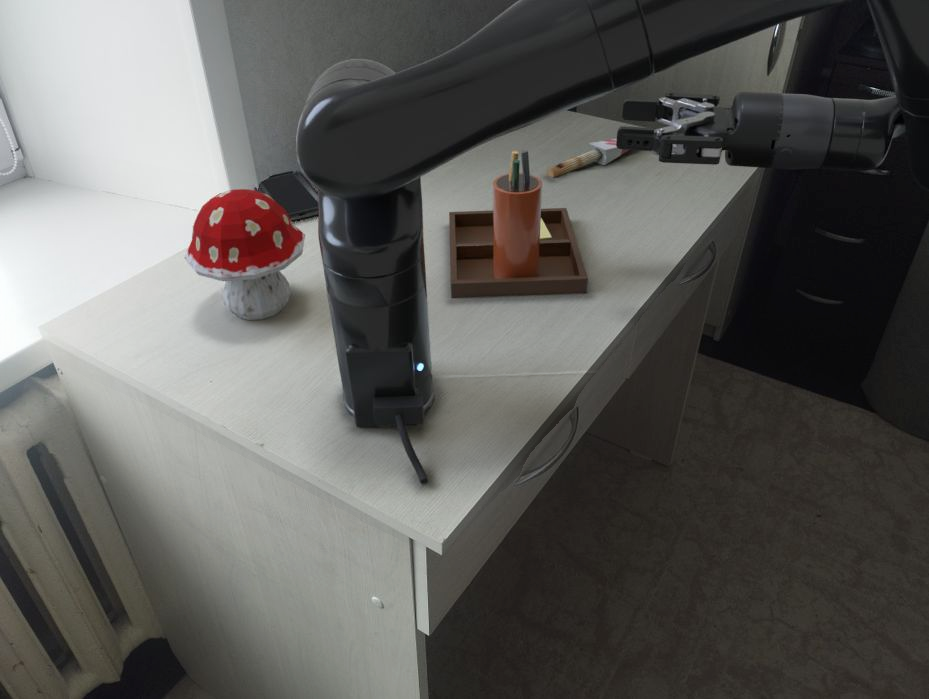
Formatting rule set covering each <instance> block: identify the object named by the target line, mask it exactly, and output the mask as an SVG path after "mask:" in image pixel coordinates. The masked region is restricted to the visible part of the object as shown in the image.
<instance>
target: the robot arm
mask: <svg viewBox="0 0 929 699" xmlns="http://www.w3.org/2000/svg"><path fill="white" fill-rule="evenodd" d="M854 1H855V0H517V1H516V2H514V3H513V4H512V5H511V6H510V7H508V8H507V9H506V10H505V9H504V11H503V12H501V13H500V14H499V15H497V16H496V17H495V18H494V19H493V20H491V21H490V22H489V23H487V24H486V25H485V26H484V27H482V28H481V29H480V30H478V31H477V32H476V33H474V34H473V35H472V36H470V37H469V38H467V39H466V40H464V41H463V42H461V43H460V44H459V45H457V46H455V47H454V48H452V49H449V50H448V51H446V52H443V53H442V54H440V55H438V56H435V57H433V58H431V59H429V60H427V61H424V62H421V63H419V64H416V65H414V66H411V67H409V68H406V69H403V70H401V71H398V72H395V71H394V70H392V69H391V68H389V67H388V66H386V65H385V64H383V63H380V62H378V61H375V60H371V59H367V58H351V59H346V60H342V61H339V62H337V63H334V64H333V65H332V66H329V67H328V68H327V69H325V71H323V72H322V73H321V74H320V75H319V76H318V78H316V80H315V81H314V83H313V84H312V86H311V88H310V90H309V92H308V95H307V98H306V101H305V104H304V106H303V109H302V111H301V114H300V117H299V120H298V124H297V128H296V135H295V136H296V138H295V151H296V158H297V162H298V166H299V169H300V171H301V173H302V174H303V175H304V177H305V178H306V179H307V180H308V181H309V183H310V184H311V185H312V186H313V187H314V189H316V191H317V192H318V215H317V217H318V218H317V219H318V221H317V222H318V223H317V225H318V226H317V233H318V234H317V235H318V236H317V237H318V243H319V249H320V256H321V262H322V268H323V273H324V280H325V285H326V286H325V288H326V293H327V301H328V308H329V312H330V318H331V325H332V332H333V338H334V344H335V350H336V356H337V362H338V368H339V375H340V381H341V387H342V399H343V406H344V408H345V410H346V412H347V413H348V414H349V415H350V417H352V418H353V419H354V423H355V427H356V428H378V427H380V428H381V427H384V428H385V427H386V428H388V427H397V429H398V433H399V436H400V439H401V443H402V445H403V449H404V450H405V452H406V455H407V457H408V459H409V461H410V463H411V465H412V467H413V469H414V470H415V473H416V475H417V477H418V480H419V483H420V484H421V485H426V484H427V483H428V482H429V479H428V477H427V474H426V472H425V469H424V466H423V465H422V463H421V461H420V459H419V458H418V455H417V454H416V452H415V449H414V448H413V445H412V444H413V443H412V442H411V439H410V437H409V433H408V430H407V426H417V425H423V424H424V422H425V421H424V416H425V413H427V411H429V409H430V407H432V404H433V402H434V400H435V384H434V380H433V379H434V378H433V364H432V351H431V335H430V321H429V307H428V306H429V305H428V304H429V303H428V292H427V291H428V288H427V273H426V270H427V269H426V256H425V242H424V214H423V213H424V212H423V211H424V209H423V193H422V191H423V190H422V178H421V177H423V176H425V175H426V174H428V173H431V172H432V171H433V170H436V169H437V168H439V167H441V166H443V165H445V164H446V163H447V164H448V163H449V162H451V161H452V160H454V159H456V158H458V157H460V156H461V155H463V154H466V153H467V152H469V151H471V150H473V149H475V148H478V147H479V146H481V145H483V144H486V143H488V142H491V141H492V140H496V139H497V138H500V137H502V136H505V135H507V134H510V133H513V132H515V131H518V130H521V129H523V128H526V127H529V126H531V125H534V124H536V123H539V122H541V121H544V120H546V119H549V118H551V117H555V115H559V114H561V113H564V112H566V111H568V110H571V109H573V108H576V107H578V106H580V105H583V104H585V103H589V102H591V101H594V100H596V99H599V98H602V97H605V96H608V95H610V94H612V93H615V92H617V91H619V90H622V89H625V88H627V87H630V86H631V85H635V84H636V83H639V82H641V81H644V80H646V79H648V78H650V77H654V76H655V75H658V74H660V73H661V72H664V71H667V70H669V69H671V68H672V67H675V66H678V65H679V64H681V63H683V62H686V61H688V60H690V59H692V58H693V59H694V58H696V57H698V56H700V55H703V54H706V53H708V52H711V51H713V50H716V49H718V48H721V47H723V46H726V45H729V44H731V43H734V42H736V41H739V40H741V39H744V38H747V37H750V36H752V35H755V34H757V33H760V32H762V31H764V30H768V29H770V28H773V27H775V26H778V25H781V24H783V23H787V22H791V21H792V20H795V19H799V18H802V17H804V16H809V15H811V14H815V13H817V12H821V11H824V10H827V9H831V8H834V7H838V6H841V5H845V4H848V3H851V2H854ZM866 3H867V7H868V9H869V11H870V14H871V18H872V20H873V23H874V26H875V29H876V32H877V35H878V39H879V42H880V46H881V48H882V53H883V56H884V59H885V64H886V66H887V67H886V68H887V70H888V74H889V77H890V81H891V85H892V88H893V92H894V95H893V96H888V97H881V98H876V99H858V98H837V97H824V96H818V95H814V94H813V95H812V94H803V93H784V92H783V93H782V92H758V91H739V92H737V93H736V94H735V96H734V98H733V101H732V105H731V107H723V106H720V100H721V96H719V95H717V94H701V93H700V94H699V93H685V92H673V91H669V92H666V93H665V95H664V96H663V97H659V98H658V99H643V98H626V99H625V100H624V101H623V105H622V113H621V114H622V116H621V117H622V119H623V120H624V121H635V122H651V123H653V122H654V123H655V122H658V123H661V124H664V125H666V126H664V127H660V128H655V127H645V126H644V127H643V126H642V127H641V126H624V125H623V126H619V127H618V128H617V131H616V132H617V133H616V139H617V141H616V146H617V148H618V149H626V150H628V151H643V152H652V154H653V155H655V156H658V162H660V163H666V164H686V165H687V164H689V165H691V164H692V165H712V166H713V165H719V164H720V162H721V157H722V152H723V151H724V159H725V163H726V164H727V165H728V166H730V167H742V168H758V169H759V168H761V169H776V170H793V171H794V170H795V171H796V170H810V169H811V170H813V169H816V170H833V171H847V172H848V171H850V172H867V171H868V172H869V171H873V170H875V169H876V168H878V167H879V166H881V165H882V163H883V162H884V161H885V159H886V157H887V155H888V152H889V150H890V148H891V144H892V141H893V139H897V138H901V137H905V141H906V149H907V158H908V164H909V169H910V173H911V175H912V178H913V179H914V181H915V182H916V183H917V184H918V185H919V186H920V187H921V188H922V189H924V190H926V191H928V192H929V0H866Z"/></svg>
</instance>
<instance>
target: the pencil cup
mask: <svg viewBox="0 0 929 699" xmlns="http://www.w3.org/2000/svg"><path fill="white" fill-rule="evenodd" d="M519 152H520V153H519ZM519 154H521V156H520V157H521V160H519ZM510 156H511V157H510V163H509V171H508V173H505V174H502V175H500V176H499V175H498V176H497V177H496V178H495V179H494V180H493V182H492V210H493V276H494V278H495V279H501V278H529V277H538V274H539V249H540V224H541V209H542V195H543V181H542V180H541V179H540V178H539V177H538V176H535V175H533V174H530V158H529V150H528V149H523V150H521V151H518V150H512V151H511V155H510ZM520 161H521V162H520ZM520 163H521V164H520ZM520 165H521V168H522V172H520Z"/></svg>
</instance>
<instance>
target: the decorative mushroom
mask: <svg viewBox="0 0 929 699" xmlns="http://www.w3.org/2000/svg"><path fill="white" fill-rule="evenodd" d="M191 232H192V234H191V240H190V243H189V245H188V248H187V251H186V252H185V255H184V259H185V261H186V263H187V264H188V265H189V266H190V267H191V268H192V269H193V271H195V273H196V274H197V275H198V276H201V277H205V278H209V279H211V280H212V279H213V280H216V281H221V282H225V283H224V286H223V290H222V302H223V304H224V305H225V307H226V308H227V309H228V310H229V311H230V312H231V313H232V314H233V315H234V316H236V317H237V318H241V319H243V320H247V321H256V320H257V321H258V320H265V319H267V318H268V319H269V318H270V317H272V316H275V315H277V314H279V313H280V312H281V311H282V310H283V309H284V308H285V307H286V305H287V304H288V302H289V300H290V296H291V295H290V294H291V285H290V283H289V281H288V279H287V277H286V276H285V275H284V274H283V273H282V272H281V271H282V270H285V269H286V268H287V267H289V266H290V265H291V264H293V263H294V262H295V261H296V260H297V259H299V258H300V257H301V256H302V255H303V251H304V247H305V246H304V245H305V240H306V234H305V233H304V232H303V231H302V230H301V229H300V228H298V227H297V226H296V225H295V224H294V223H293V221H291V220H290V218H289V216H288V214H287V212H286V211H285V209H284V208H282V207H281V206H280V205H279V204H278V203H277V202H275V201H274V200H273V199H272V198H270V197H269V196H268V195H266V194H264V193H261V192H258V191H256V190H255V189H249V188H240V189H239V188H238V189H231V190H230V189H229V190H226V191H223V192H220V193H218V194H216V195H214V196H213V197H211V198H210V199H209V200H208V201H207V202H205V203H204V204H203V205H201V207H200V210H199V212H198V214H197V215H196V218H195V220H194V223H193V225H192V231H191Z"/></svg>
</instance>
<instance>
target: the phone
mask: <svg viewBox="0 0 929 699" xmlns="http://www.w3.org/2000/svg"><path fill="white" fill-rule="evenodd" d="M269 176H270V175H269ZM253 190H254V191H258V192H261V193H264V194H266V195H268V196H269V197H270V198H272V199H273V200H274V201H275V202H277V203H278V204H279V205H280V206H281V207H282V208H284V209H285V211H286V212H287V214H288V216H289V218H290V220H291V222H294V221H298V220H302V219H306V218H310V217H316V216H318V190H317V189H316V188H315V187H314V186H313V185H312V184H311V183H310V182H309V181H308V180H307V179H306V177H305V176H304V174H303V172H302V171H301V170H289V171H285V172H281V173H280V172H279V173H275V174H272V176H270V177H269V178H268V179H266V180H264V181H262V182H261V183H260V184H259V188H258V190H257V188H256V187H255V188H254V187H253Z"/></svg>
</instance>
